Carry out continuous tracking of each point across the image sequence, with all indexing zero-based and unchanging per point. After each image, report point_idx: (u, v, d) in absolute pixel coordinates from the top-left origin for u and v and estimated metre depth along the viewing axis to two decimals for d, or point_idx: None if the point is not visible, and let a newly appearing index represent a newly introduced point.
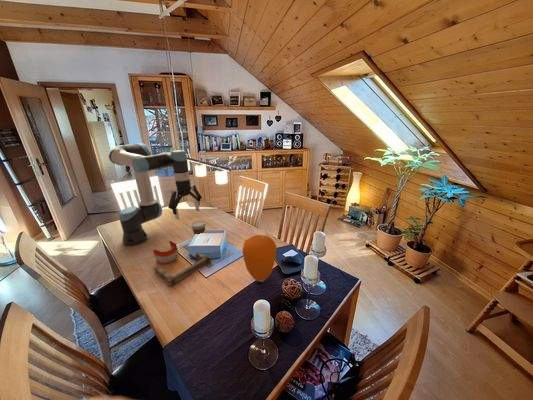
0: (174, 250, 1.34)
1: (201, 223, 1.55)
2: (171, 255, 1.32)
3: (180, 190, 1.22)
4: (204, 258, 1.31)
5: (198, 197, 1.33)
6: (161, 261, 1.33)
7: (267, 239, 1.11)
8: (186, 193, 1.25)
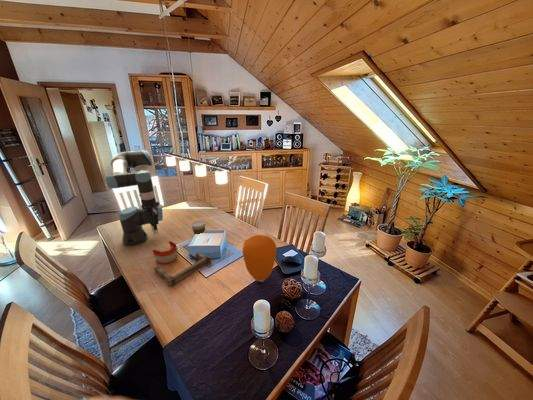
0: (174, 250, 1.34)
1: (201, 223, 1.55)
2: (171, 255, 1.32)
3: (145, 205, 1.33)
4: (204, 258, 1.31)
5: None
6: (161, 261, 1.33)
7: (267, 239, 1.11)
8: None
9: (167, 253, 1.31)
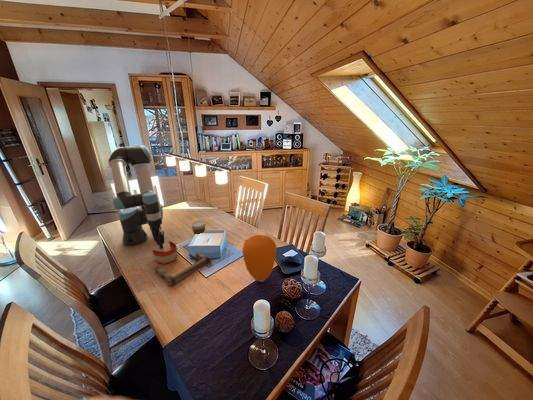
0: (174, 250, 1.33)
1: (201, 223, 1.55)
2: (171, 255, 1.32)
3: None
4: (204, 258, 1.31)
5: None
6: (161, 261, 1.33)
7: (267, 239, 1.11)
8: None
9: (167, 253, 1.30)
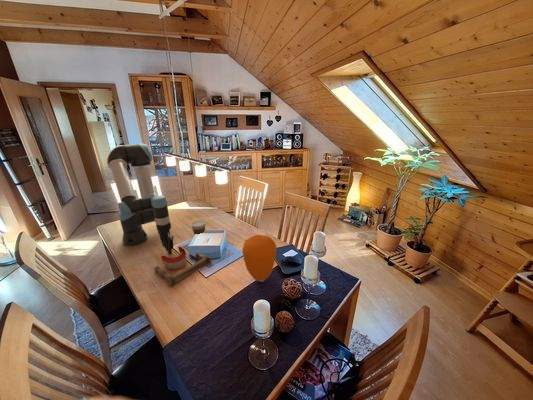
0: (183, 256, 1.27)
1: (201, 223, 1.55)
2: (180, 261, 1.26)
3: None
4: (204, 258, 1.31)
5: None
6: (169, 267, 1.27)
7: (267, 239, 1.11)
8: None
9: (176, 259, 1.25)
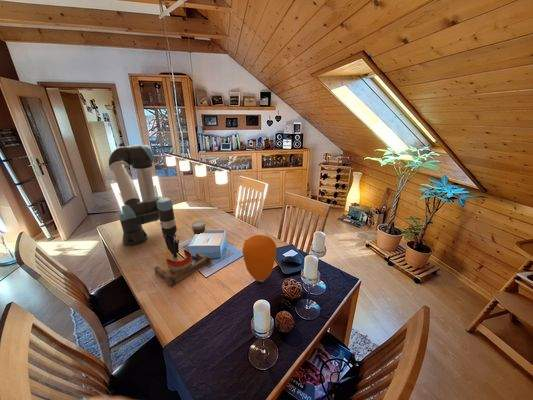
0: (188, 260, 1.24)
1: (201, 223, 1.55)
2: (185, 265, 1.23)
3: None
4: (204, 258, 1.31)
5: None
6: (174, 271, 1.24)
7: (267, 239, 1.11)
8: None
9: (181, 263, 1.21)
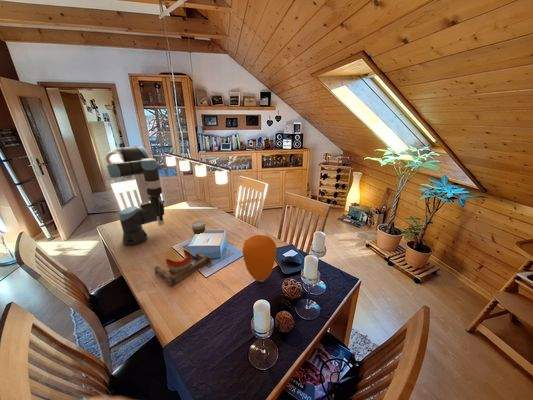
0: (188, 260, 1.24)
1: (201, 223, 1.55)
2: (185, 266, 1.23)
3: None
4: (204, 258, 1.31)
5: None
6: (174, 271, 1.24)
7: (267, 239, 1.11)
8: None
9: (181, 263, 1.21)
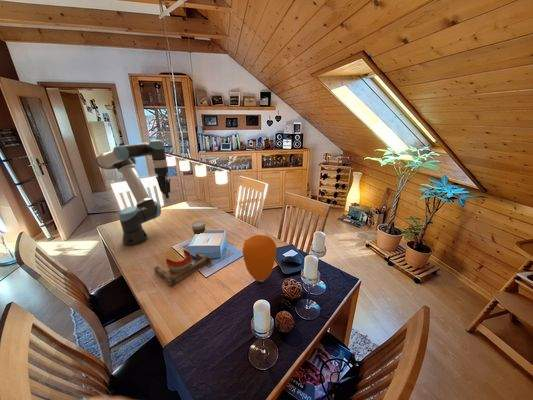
0: (188, 260, 1.24)
1: (201, 223, 1.55)
2: (185, 265, 1.23)
3: (157, 174, 1.39)
4: (204, 258, 1.31)
5: None
6: (174, 271, 1.24)
7: (267, 239, 1.11)
8: None
9: (181, 263, 1.21)
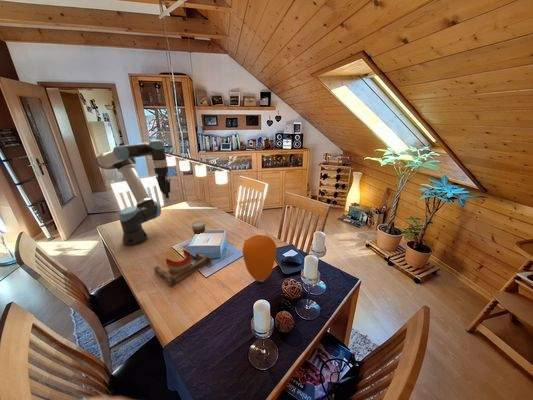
0: (188, 260, 1.24)
1: (201, 223, 1.55)
2: (184, 265, 1.23)
3: (157, 174, 1.39)
4: (204, 258, 1.31)
5: None
6: (174, 271, 1.24)
7: (267, 239, 1.11)
8: None
9: (181, 263, 1.21)
